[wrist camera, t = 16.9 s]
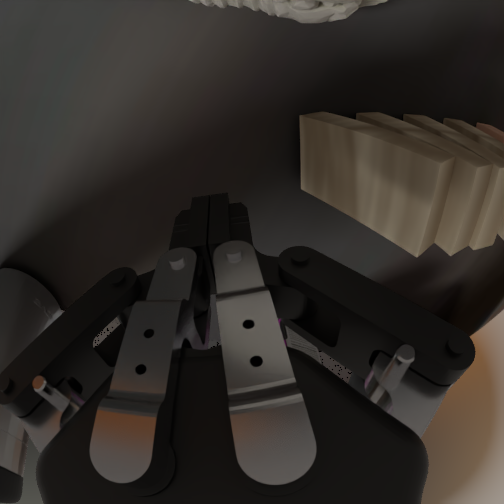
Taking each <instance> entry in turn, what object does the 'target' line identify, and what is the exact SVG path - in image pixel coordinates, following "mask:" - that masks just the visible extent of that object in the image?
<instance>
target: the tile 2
mask: <svg viewBox="0 0 504 504" xmlns="http://www.w3.org/2000/svg"><path fill="white" fill-rule="evenodd" d="M356 120H358V121H361V122H365V123H368V124H371V125H375V126H378V127H381V128H384V129H387V130H390V131H393V132H396V133H399V134H402V135H405V136H407V137H410V138H413V139H416V140H418V141H421V142H424V143H426V144H429V145H431V146H434V147H436V148H439V149H441V150H443V151H446V152H448V153H450V154H453V155H455V156H456V159H455V164H454V169H453V174H452V178H451V183H450V187H449V191H448V195H447V199H446V203H445V207H444V211H443V215H442V218H441V222H440V225H439V229H438V232H437V235H436V238H435V241H434V243H436V244H437V245H438V246H439V247H440V248H442V249H443V250H444V251H445V252H446V253H448V254H449V255H450V256H451V255H453V254H455V253H457V252H458V251H460V250H462V249H463V248H465V247H467V246H468V245H469V243H470V240H471V238H472V235H473V232H474V229H475V227H476V224H477V221H478V218H479V215H480V212H481V208H482V205H483V202H484V199H485V195H486V192H487V188H488V184H489V181H490V177H491V173H492V169H493V163H491V162H489V161H488V160H486V159H484V158H482V157H480V156H478V155H477V154H475V153H473V152H471V151H469V150H467V149H465V148H463V147H461V146H459V145H457V144H455V143H453V142H451V141H449V140H447V139H444V138H442V137H440V136H438V135H436V134H433V133H431V132H429V131H426V130H424V129H422V128H419V127H417V126H414V125H412V124H409V123H407V122H404V121H402V120H399V119H396V118H394V117H391V116H388V115H385V114H383V113H380V112H368V113H356Z"/></svg>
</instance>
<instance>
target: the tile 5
mask: <svg viewBox="0 0 504 504" xmlns="http://www.w3.org/2000/svg"><path fill="white" fill-rule="evenodd" d="M476 128H477V129H479V130H481V131H483V132H484V133H486V134H488V135H490V136H491V137H493V138H495V139H497V140H498V141H500V142H502V143H503V144H504V132H502V131H500V130H499V129H497V128H495V127H493V126H491V125H488V124H483V123H478V122H477V124H476Z"/></svg>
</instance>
